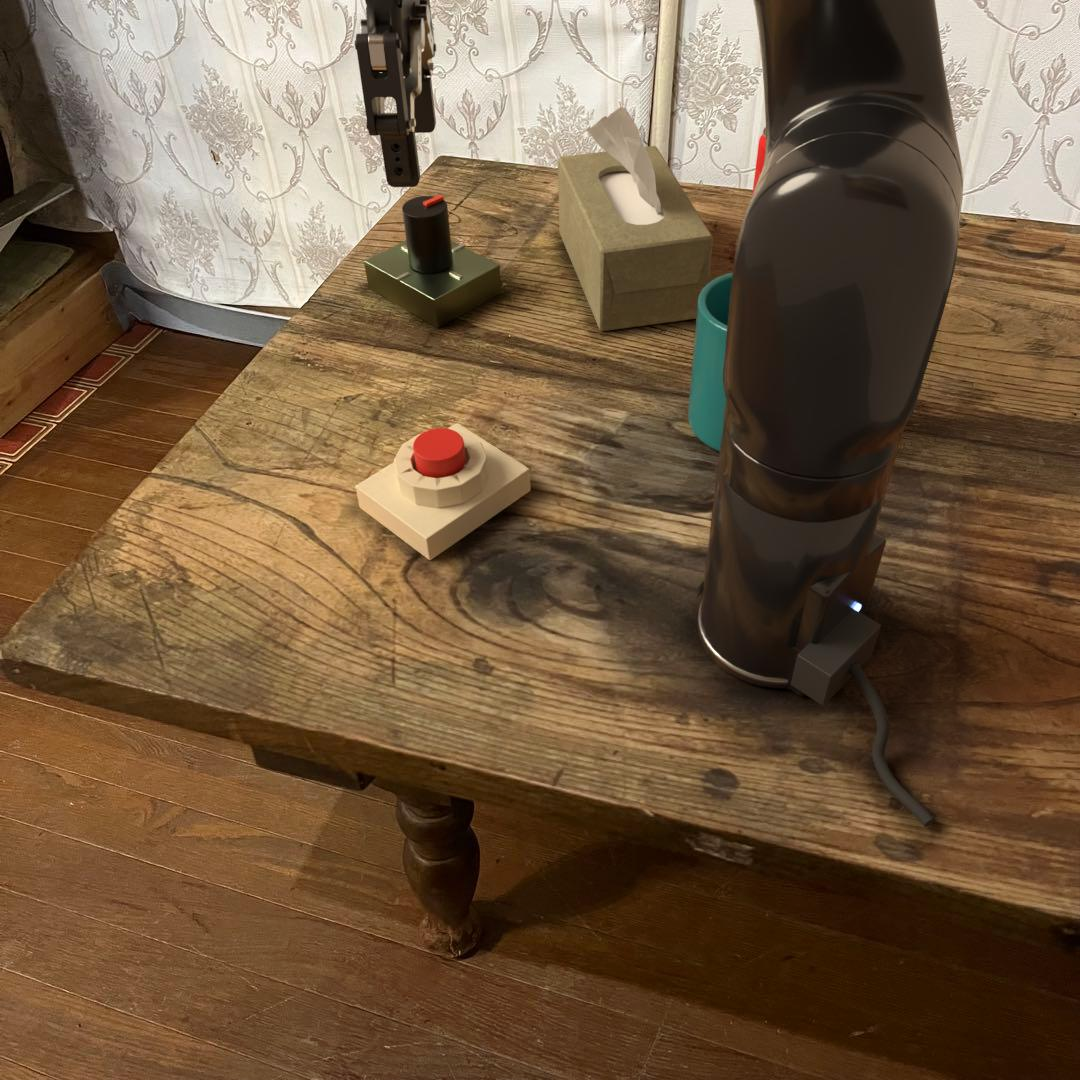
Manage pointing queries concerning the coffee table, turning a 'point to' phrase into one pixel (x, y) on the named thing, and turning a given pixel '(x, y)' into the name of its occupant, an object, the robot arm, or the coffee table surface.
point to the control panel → (434, 283)
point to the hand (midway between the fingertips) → (413, 156)
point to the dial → (427, 233)
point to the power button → (439, 453)
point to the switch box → (443, 494)
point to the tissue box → (631, 230)
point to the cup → (709, 362)
